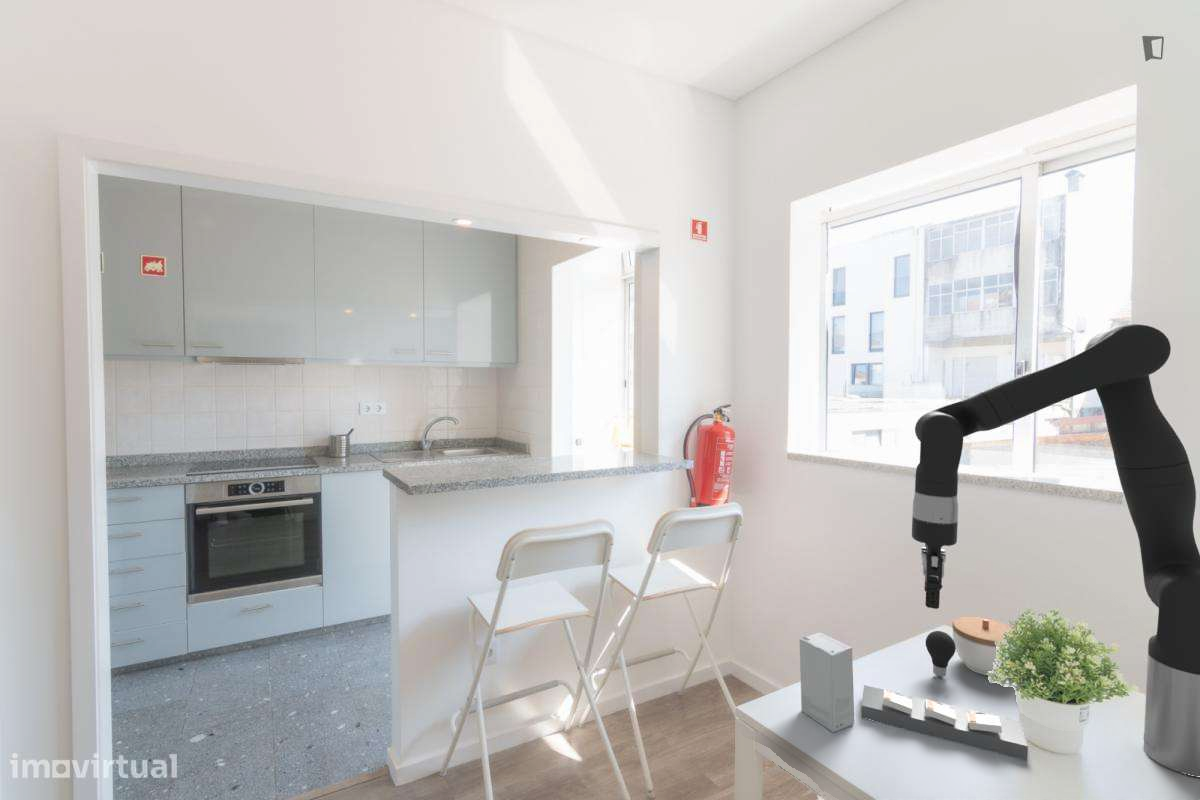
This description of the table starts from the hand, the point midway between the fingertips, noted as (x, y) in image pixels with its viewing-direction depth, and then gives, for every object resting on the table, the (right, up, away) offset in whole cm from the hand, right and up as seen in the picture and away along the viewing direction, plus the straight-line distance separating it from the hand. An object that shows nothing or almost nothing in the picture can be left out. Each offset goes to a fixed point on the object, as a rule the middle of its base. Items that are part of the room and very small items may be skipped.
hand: (931, 599), depth 112 cm
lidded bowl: (+22, -22, +18) cm, 36 cm away
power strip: (0, -23, -3) cm, 23 cm away
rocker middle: (-1, -20, -5) cm, 20 cm away
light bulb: (+10, -22, +14) cm, 28 cm away
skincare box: (-20, -23, 0) cm, 31 cm away
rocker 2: (+5, -20, -8) cm, 22 cm away
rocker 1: (-8, -19, -2) cm, 21 cm away
